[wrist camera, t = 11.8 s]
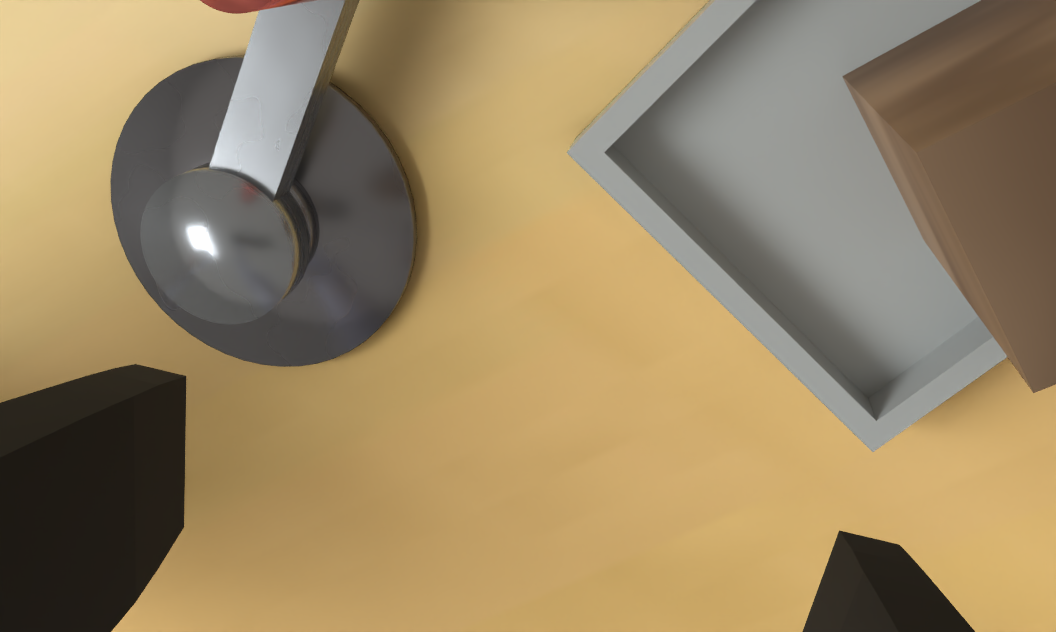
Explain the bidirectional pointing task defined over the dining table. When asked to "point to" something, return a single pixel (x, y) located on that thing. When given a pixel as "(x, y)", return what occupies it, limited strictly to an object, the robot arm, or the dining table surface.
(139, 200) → the crank hub
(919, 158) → the block
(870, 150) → the tray
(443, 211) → the dining table surface
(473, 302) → the dining table surface
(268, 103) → the crank
